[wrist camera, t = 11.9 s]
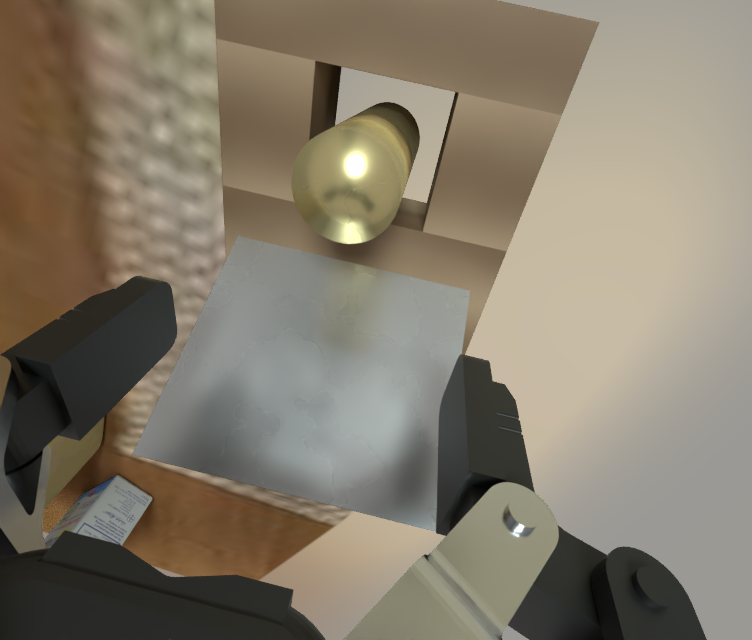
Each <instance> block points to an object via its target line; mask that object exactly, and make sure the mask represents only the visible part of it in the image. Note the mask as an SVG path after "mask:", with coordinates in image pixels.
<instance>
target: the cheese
mask: <svg viewBox="0 0 752 640" xmlns="http://www.w3.org/2000/svg"><path fill="white" fill-rule="evenodd" d="M104 418H105V416H104V417H103V418H102V419H101V420H100V421H99V422H98V423H97V424H96V425H95V426H94V427H93V428H92V429H91V430H90V431H89V432H88V433H87V434H86V435H85V436H84V437H83V438H82V439H81V440H80V441H78V440H74V439H70V438H66V437H62V436H57V437H55V438H54V439H53V440H52V441H51V442H50V443H49V446H50V449H51V458H50V466H49V474H48V482H47V490H46V498H45V506H44V509H45V508H46V507H47V506H48V505H49V504H50V503H51V502H52V500H53V499H54V498H55V497H56V496H57V495H58V494H59V493H60V491H61V490H62V489H63V488H64V487H65V486H66V485H67V484H68V483H69V481H70V480H71V479H72V478H73V477H74V476H75V475H76V474H77V472H78V471H79V470H80V469H81V468H82V467H83V466H84V465H85V464H86V462H87V461H88V460H89V459H90V458H91V457H92V456H93V455H94V454H95V452H96V451H97V450H98V449H99V447H100V445H101V442H102V437H103V428H104Z"/></svg>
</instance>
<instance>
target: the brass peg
mask: <svg viewBox="0 0 752 640" xmlns="http://www.w3.org/2000/svg"><path fill="white" fill-rule="evenodd" d="M419 139H420V136H419V129H418V126H417V123H416V121H415V119H414V117H413V116H412V114H410V112H409V111H408V110H407V109H405V108H404V107H402V106H400V105H398V104H395V103H390V102H384V103H379V104H376V105H374V106H372V107H370V108H368V109H366V110H364V111H362V112H360V113H359V114H357V115H355V116H353V117H351V118H349V119H347V120H345V121H343V122H341V123H340V124H338V125H336V126H334V127H332V128H330V129H328V130H326V131H324V132H322V133H321V134H319V135H317V136H315V137H314V138H312V139H311V140H310V141H309V142H307V143H306V144H305V145H304V147H303V148H302V149H301V150H300V152H299V154H298V156H297V157H296V160H295V162H294V165H293V169H292V175H291V188H292V195H293V199H294V202H295V204H296V207H297V209H298V211H299V213H300V215H301V216H302V218H303V219H304V220H305V222H306V223H307V224H308V225H309V226H310V227H311V228H312V229H313V230H314V231H316V232H317V233H318V234H320V235H322V236H323V237H325V238H327V239H329V240H332V241H335V242H339V243H344V244H356V243H362V242H366V241H368V240H371V239H373V238H375V237H377V236H378V235H380V234H381V233H382V232H383V231H384V230H386V229H387V227H388V226H389V225H390V224H391V222H392V221H393V219H394V218H395V215H396V213H397V211H398V208H399V205H400V202H401V199H402V196H403V193H404V190H405V187H406V184H407V181H408V178H409V175H410V172H411V169H412V166H413V163H414V160H415V157H416V154H417V151H418V147H419Z"/></svg>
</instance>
